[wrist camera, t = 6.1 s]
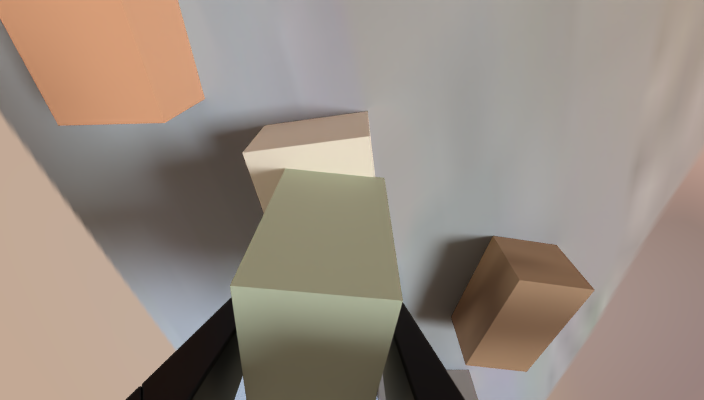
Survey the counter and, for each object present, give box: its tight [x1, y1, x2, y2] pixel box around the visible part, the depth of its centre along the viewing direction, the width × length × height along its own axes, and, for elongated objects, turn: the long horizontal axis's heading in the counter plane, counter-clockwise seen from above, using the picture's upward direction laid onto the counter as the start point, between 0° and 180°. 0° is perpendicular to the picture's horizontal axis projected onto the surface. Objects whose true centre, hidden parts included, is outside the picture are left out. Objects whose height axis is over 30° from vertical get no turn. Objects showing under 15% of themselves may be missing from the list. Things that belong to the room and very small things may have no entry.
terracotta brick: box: [0, 0, 205, 126], centre depth 9 cm, size 6×3×3 cm, turn 2°
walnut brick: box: [451, 236, 594, 372], centre depth 15 cm, size 6×3×3 cm, turn 171°
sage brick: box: [230, 168, 403, 400], centre depth 9 cm, size 6×3×5 cm, turn 174°
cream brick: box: [243, 111, 375, 213], centre depth 13 cm, size 8×4×3 cm, turn 8°
